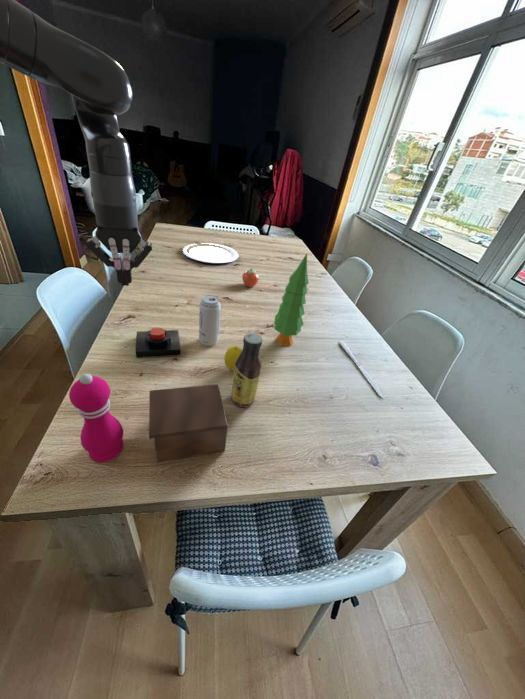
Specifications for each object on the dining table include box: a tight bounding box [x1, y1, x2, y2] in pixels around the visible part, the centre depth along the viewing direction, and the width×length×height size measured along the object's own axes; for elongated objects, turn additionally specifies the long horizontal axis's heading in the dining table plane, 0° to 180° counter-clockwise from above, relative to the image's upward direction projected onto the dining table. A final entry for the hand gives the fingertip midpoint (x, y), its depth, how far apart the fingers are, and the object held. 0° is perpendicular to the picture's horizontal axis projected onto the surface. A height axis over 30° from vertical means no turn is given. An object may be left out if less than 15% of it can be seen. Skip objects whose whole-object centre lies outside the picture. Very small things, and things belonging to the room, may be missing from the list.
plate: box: [181, 242, 239, 265], centre depth 153 cm, size 29×29×2 cm
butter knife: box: [339, 340, 384, 398], centre depth 93 cm, size 1×27×3 cm
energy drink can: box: [198, 294, 222, 347], centre depth 88 cm, size 6×6×15 cm
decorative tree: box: [273, 253, 309, 347], centre depth 90 cm, size 10×9×30 cm
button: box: [150, 327, 166, 340], centre depth 85 cm, size 4×4×2 cm
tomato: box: [241, 267, 260, 288], centre depth 128 cm, size 7×7×8 cm
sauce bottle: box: [230, 332, 263, 408], centre depth 69 cm, size 7×6×20 cm
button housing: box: [134, 329, 181, 359], centre depth 86 cm, size 12×10×4 cm
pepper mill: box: [68, 373, 124, 463], centre depth 53 cm, size 7×7×20 cm
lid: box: [148, 383, 229, 440], centre depth 59 cm, size 14×12×1 cm
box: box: [153, 427, 228, 463], centre depth 62 cm, size 14×12×8 cm
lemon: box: [223, 345, 243, 371], centre depth 81 cm, size 6×6×8 cm
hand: (125, 284), depth 66 cm, fingers closed
